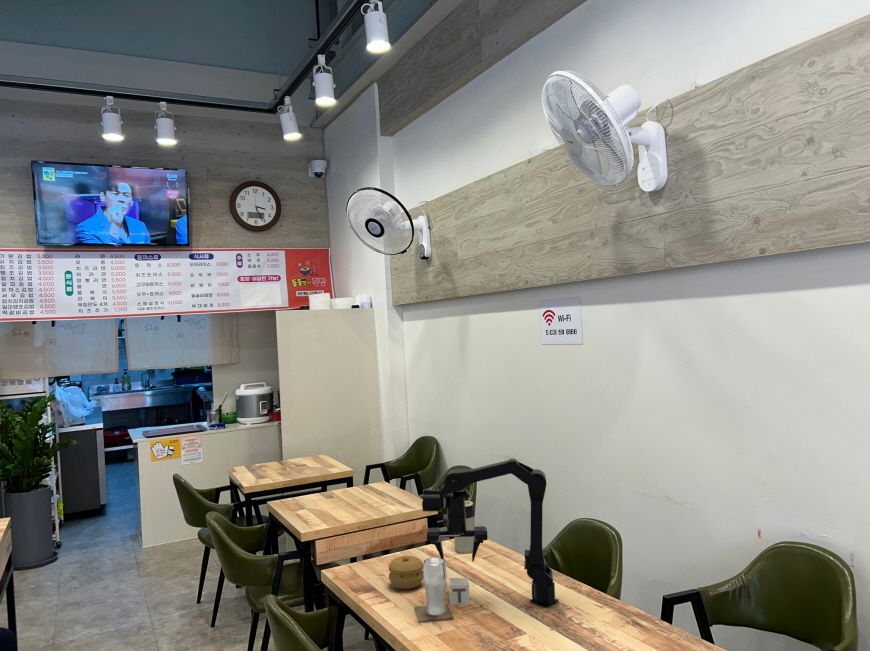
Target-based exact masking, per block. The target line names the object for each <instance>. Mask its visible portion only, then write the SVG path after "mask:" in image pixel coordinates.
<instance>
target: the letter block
mask: <svg viewBox="0 0 870 651" xmlns="http://www.w3.org/2000/svg"><path fill="white" fill-rule="evenodd" d="M469 578H470V577H453V578H452V577H450V578H449V580H448V581H449V582H448V584H449V585H448V586H449V589H448V592H449V593H448V594H449V606H460V605H461V606H463V605H470V583H469V582H470V581H469ZM456 604H457V605H456Z"/></svg>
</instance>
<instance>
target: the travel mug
mask: <svg viewBox="0 0 870 651" xmlns="http://www.w3.org/2000/svg"><path fill="white" fill-rule="evenodd" d="M473 505H474V502H472V501H470V500H465V517H466V530H474V527H476V523H475V510H474V508H473ZM453 538H454V551H455V552H457V553H459V552H460V553H459V554H470V553H469V552H471V553H472V551H473V538H474V537H453Z"/></svg>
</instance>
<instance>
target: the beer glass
mask: <svg viewBox="0 0 870 651" xmlns="http://www.w3.org/2000/svg"><path fill="white" fill-rule="evenodd" d="M422 562H423V569H422V571H423V579H422V581H423V585H424V591H425V595H426V606H427V608H426V613H427V615H429V616H442V615H444V614H446V612H447V610H446V605H445V604H446V598H445V597H446V590H447V580H448V579H447V578H448V576H447V574H448V573H447V566H446V565H447V564H446V559H445V558H444V559H442V558H441V557H428V558H426V559H424V560H423V561H422Z"/></svg>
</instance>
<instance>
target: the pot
mask: <svg viewBox="0 0 870 651" xmlns="http://www.w3.org/2000/svg"><path fill="white" fill-rule="evenodd" d="M388 571H389V573H388V579H389V581H390V582H391V584H392V585H393V586H394V587H395V588H398V589H401V590H409V589H410V590H411V589H414V588H417V587H418V586H419V585H420V584H421V583H422V581H423V561H422V560H421V558H418V557H417V556H414V555H413V556H412V555H402V556H401V555H400V556H397V557H395V558H394V559H393V560H391V561H390V563H389V564H388Z"/></svg>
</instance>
